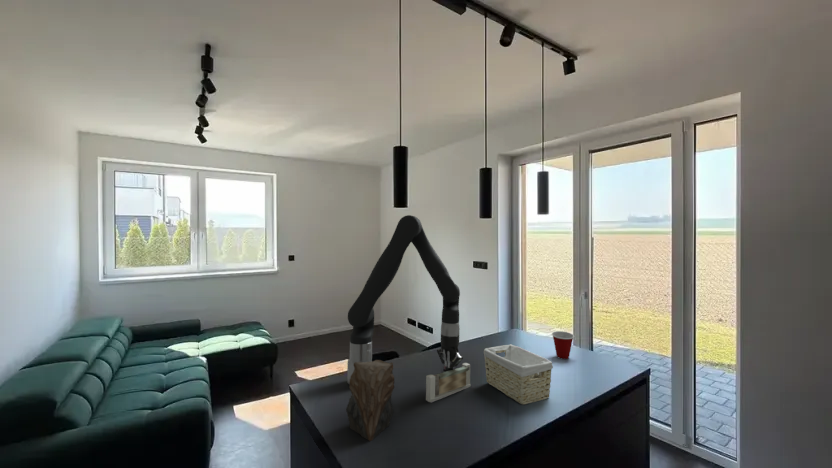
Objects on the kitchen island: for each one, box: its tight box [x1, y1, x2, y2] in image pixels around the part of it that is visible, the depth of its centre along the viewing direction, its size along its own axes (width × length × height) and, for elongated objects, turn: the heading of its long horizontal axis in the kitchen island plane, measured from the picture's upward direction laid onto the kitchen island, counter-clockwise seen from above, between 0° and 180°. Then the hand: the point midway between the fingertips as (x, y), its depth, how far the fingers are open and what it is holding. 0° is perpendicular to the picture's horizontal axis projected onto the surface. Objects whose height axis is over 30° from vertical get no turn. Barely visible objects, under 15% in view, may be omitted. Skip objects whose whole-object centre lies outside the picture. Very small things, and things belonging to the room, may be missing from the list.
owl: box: [345, 359, 395, 442], centre depth 110 cm, size 13×13×20 cm
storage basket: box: [483, 343, 554, 405], centre depth 137 cm, size 24×16×15 cm
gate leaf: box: [432, 366, 468, 396], centre depth 134 cm, size 16×2×7 cm, turn 125°
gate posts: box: [425, 362, 472, 403], centre depth 134 cm, size 22×3×9 cm, turn 130°
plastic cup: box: [551, 330, 575, 360], centre depth 177 cm, size 11×11×12 cm
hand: (449, 375), depth 138 cm, fingers closed
